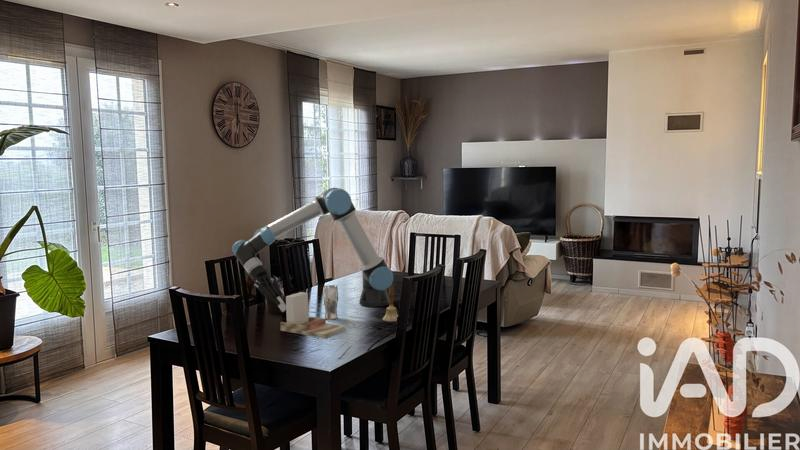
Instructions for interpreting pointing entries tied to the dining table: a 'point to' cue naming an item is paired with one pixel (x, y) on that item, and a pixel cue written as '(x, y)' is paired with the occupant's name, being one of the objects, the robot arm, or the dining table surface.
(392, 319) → the brush
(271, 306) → the coffee mug
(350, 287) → the dining table surface
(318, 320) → the press tester
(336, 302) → the beer glass
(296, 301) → the white rectangular box
